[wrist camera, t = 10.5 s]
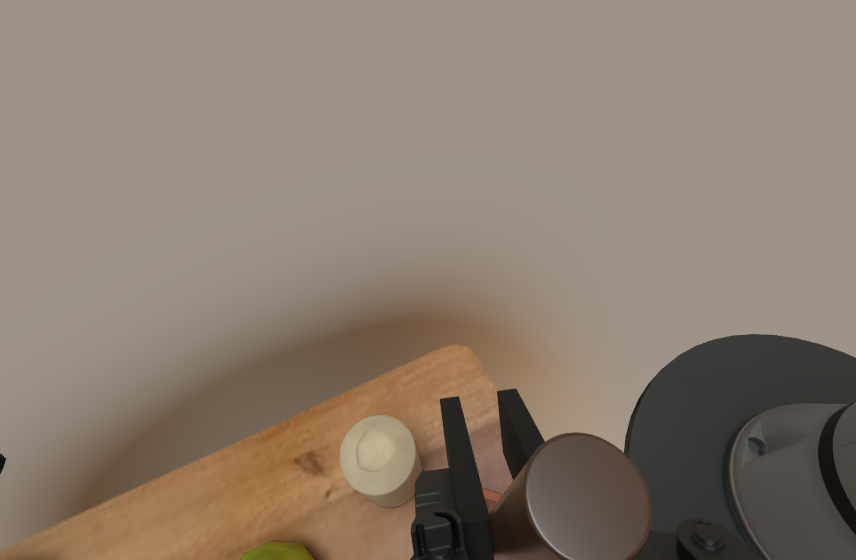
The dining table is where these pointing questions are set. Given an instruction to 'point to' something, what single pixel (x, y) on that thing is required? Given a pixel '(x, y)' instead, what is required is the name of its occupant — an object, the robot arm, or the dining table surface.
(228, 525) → the dining table surface
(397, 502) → the candle
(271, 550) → the fruit
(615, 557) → the stirring stick
